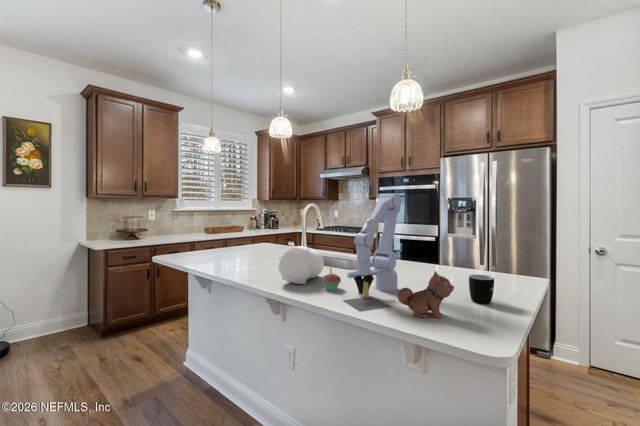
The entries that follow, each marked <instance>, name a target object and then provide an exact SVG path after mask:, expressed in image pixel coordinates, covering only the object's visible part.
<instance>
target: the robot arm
mask: <svg viewBox="0 0 640 426" xmlns="http://www.w3.org/2000/svg"><path fill="white" fill-rule="evenodd" d="M401 205H402V198H401V195H400V194H399V193H398V192H396V193H378V194H377V196H376V198H375V207H374V210H373V211H372V214H371V217H370V218H367V219H366V220H365V223H364V224H363V226H362V228H361V230H360V232H358V233H356V234H355V236H354V239H353V243H354V246H355V250H356V270H355V271H351V272H346V273H347V276H346V278H348V279H352V278H353V280H354V282H355V284H356V287H357V291H358V295H359V294H363V283H364V282H368V287H369V289H370V288H372V289H374V290H375V291H378V292H380V293H385V292H392V291H399V288H398V272H397V271H396V269H395V268H396V266H397V254H396V253H395V252H394V251H393V250H392V248H393V245H394V244H393V242H394V237H395V232H396V231H395V230H396V226H397V221H398V214H399V213H400V212H401V207H402V206H401ZM383 214H384V215H385V217H384V224H383V228H382V234H381V235H382V236H381V241H380V247H379V248H377V249H376V250H375V251H374V253H373V256H372V258H371V253H372V251H371V247H372V246H373V244H374V241H375V234H376V232H377V230H378V228H379V220H380V219H381V218H382V216H383ZM371 266H372V267H373V268H374V269H371ZM374 276H375V277H374ZM374 278H375V280H374ZM373 281H375V286H372V283H373ZM371 286H372V287H371Z"/></svg>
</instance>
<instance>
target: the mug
mask: <svg viewBox="0 0 640 426" xmlns="http://www.w3.org/2000/svg"><path fill="white" fill-rule="evenodd" d="M468 288H469V295H470V299H471V301H472V302H473V303H475V304H477V305H490V304H491V302H492V299H493V295H494V290H495V278H494V276H491V275H487V274H476V273H475V274H469V275H468Z"/></svg>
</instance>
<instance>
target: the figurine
mask: <svg viewBox="0 0 640 426" xmlns="http://www.w3.org/2000/svg"><path fill="white" fill-rule="evenodd" d="M454 289H455V286H454V285H452V284H451V282H450V280H449V279H448V278H447V277H445V276H442V275H440V274H439V273H438V272H437V270H435V271H434V274H433V275H432V276H431V277H430V279H429V281H428V285H427V286H426V288H425V289H422V290H419V291H416V292H413V290H412V289H410V288H409V287H402V288H400V290H398V293H397V300H398V302H399V303H401V304H402V305H405V306H407V307H408V308H409V309H410V310H411V311H413V313H414V315H415V316H416V317H419V318H424V319H425V318H426V319H427V318H429V314H428V313H427V312H430V311H431V313H432V315H433V316H434V317H435V318H442V317H443V314H441V312H440V306H441V304H442V301H444V299H445V298H448V297H450V295H451V293H452V292H454Z"/></svg>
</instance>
